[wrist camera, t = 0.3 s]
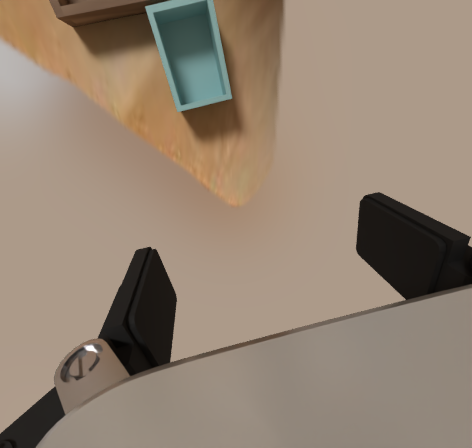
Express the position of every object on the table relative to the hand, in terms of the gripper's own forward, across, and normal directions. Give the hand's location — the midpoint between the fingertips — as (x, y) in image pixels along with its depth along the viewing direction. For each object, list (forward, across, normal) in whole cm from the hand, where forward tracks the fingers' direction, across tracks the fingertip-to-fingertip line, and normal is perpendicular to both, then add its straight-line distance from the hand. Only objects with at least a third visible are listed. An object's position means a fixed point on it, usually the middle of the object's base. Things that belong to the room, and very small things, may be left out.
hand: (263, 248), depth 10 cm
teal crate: (+29, +1, -11) cm, 31 cm away
